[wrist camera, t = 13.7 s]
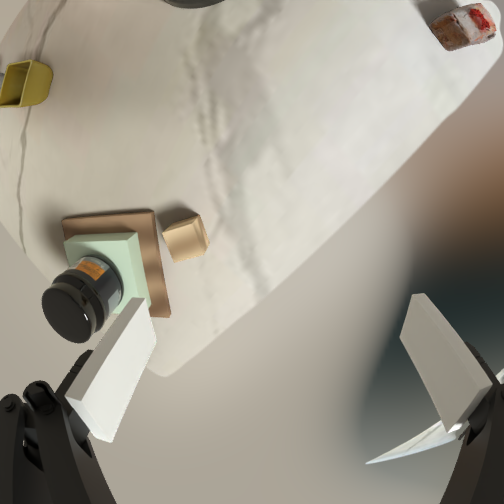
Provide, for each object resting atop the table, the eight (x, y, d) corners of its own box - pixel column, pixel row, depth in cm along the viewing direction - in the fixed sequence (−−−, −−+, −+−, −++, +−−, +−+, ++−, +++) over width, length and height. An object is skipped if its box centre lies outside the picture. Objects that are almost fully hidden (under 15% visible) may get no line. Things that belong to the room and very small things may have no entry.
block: (172, 223, 45) (162, 233, 40) (199, 214, 44) (192, 223, 39) (182, 250, 46) (174, 262, 42) (209, 242, 46) (203, 254, 41)
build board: (65, 218, 45) (61, 220, 43) (154, 211, 44) (150, 213, 42) (89, 306, 52) (86, 310, 51) (171, 313, 51) (168, 317, 50)
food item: (458, 8, 24) (484, -5, 15) (480, 40, 26) (509, 32, 17) (424, 23, 28) (452, 7, 19) (449, 59, 30) (481, 49, 21)
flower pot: (26, 107, 36) (-4, 108, 27) (36, 67, 32) (7, 63, 24) (51, 107, 36) (20, 107, 28) (62, 65, 33) (32, 58, 25)
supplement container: (79, 242, 41) (36, 274, 29) (130, 265, 42) (93, 304, 30) (77, 291, 44) (41, 327, 33) (123, 314, 45) (94, 357, 34)
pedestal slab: (75, 235, 44) (63, 242, 41) (137, 232, 44) (126, 240, 40) (92, 299, 50) (83, 310, 46) (151, 303, 49) (143, 315, 45)
